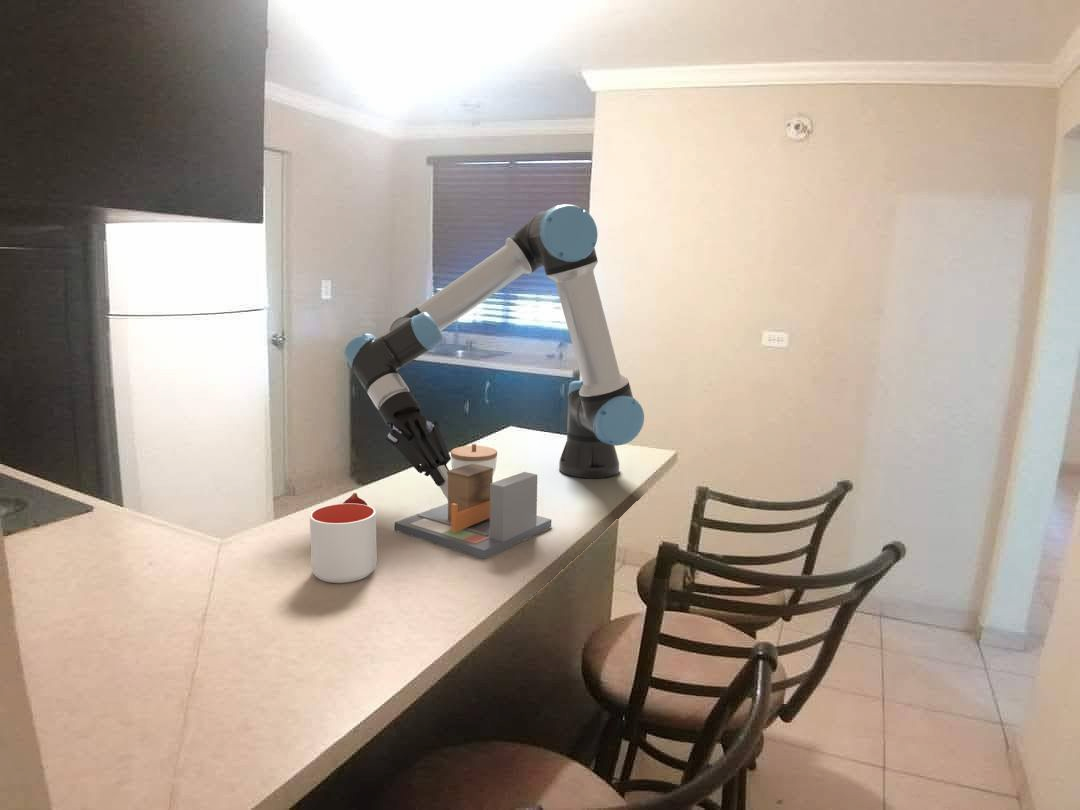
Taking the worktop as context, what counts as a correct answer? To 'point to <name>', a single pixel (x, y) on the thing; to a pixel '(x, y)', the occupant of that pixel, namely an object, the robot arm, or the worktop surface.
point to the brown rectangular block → (468, 486)
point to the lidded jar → (474, 456)
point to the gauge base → (502, 530)
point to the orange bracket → (469, 515)
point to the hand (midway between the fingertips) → (455, 496)
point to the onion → (355, 500)
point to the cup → (343, 542)
